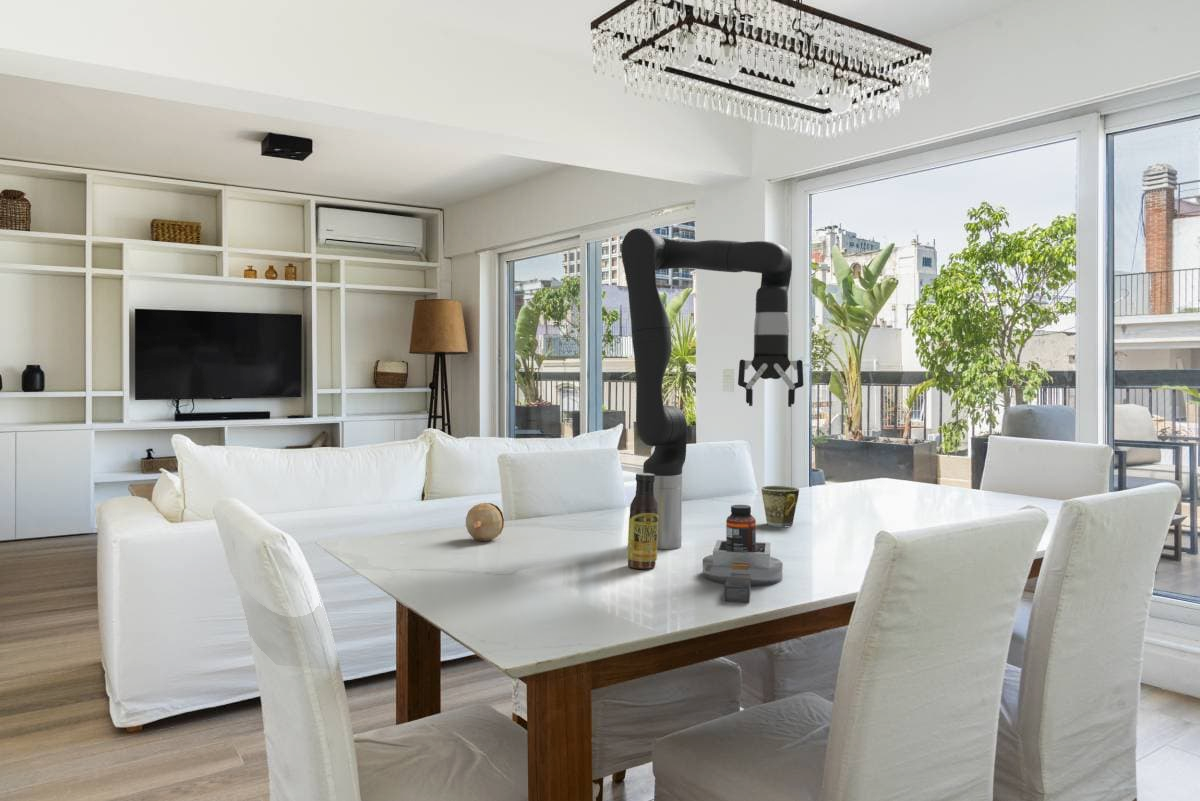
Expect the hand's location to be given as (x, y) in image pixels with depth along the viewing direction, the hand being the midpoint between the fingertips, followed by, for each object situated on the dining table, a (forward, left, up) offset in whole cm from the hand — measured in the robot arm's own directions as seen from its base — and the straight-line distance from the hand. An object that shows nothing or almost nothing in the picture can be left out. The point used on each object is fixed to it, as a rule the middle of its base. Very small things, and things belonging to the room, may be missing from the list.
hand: (770, 406), depth 186 cm
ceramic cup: (+3, +39, -34) cm, 52 cm away
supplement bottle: (-5, -19, -31) cm, 37 cm away
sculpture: (-68, +1, -34) cm, 76 cm away
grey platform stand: (-5, -25, -34) cm, 42 cm away
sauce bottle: (-26, -16, -34) cm, 46 cm away
